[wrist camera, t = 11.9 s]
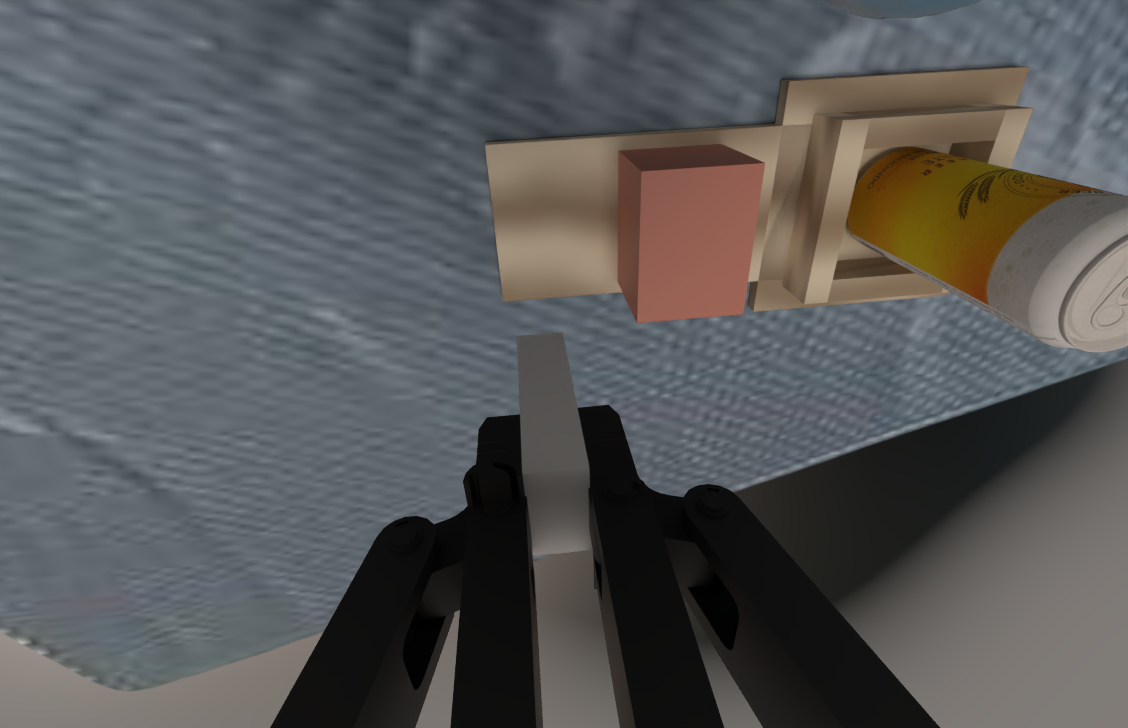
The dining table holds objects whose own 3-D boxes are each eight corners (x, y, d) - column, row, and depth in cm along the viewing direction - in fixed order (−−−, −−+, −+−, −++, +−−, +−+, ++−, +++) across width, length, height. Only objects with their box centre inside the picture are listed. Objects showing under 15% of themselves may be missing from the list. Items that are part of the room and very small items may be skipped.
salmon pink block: (618, 150, 30) (641, 171, 25) (721, 143, 30) (765, 162, 25) (617, 281, 34) (637, 323, 29) (707, 274, 34) (743, 314, 29)
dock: (480, 98, 29) (476, 104, 25) (1015, 66, 30) (1079, 68, 27) (506, 325, 36) (506, 354, 32) (937, 289, 38) (979, 313, 34)
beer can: (956, 161, 32) (1260, 236, 19) (898, 254, 35) (1128, 373, 22) (876, 131, 30) (1146, 191, 18) (822, 231, 33) (1021, 344, 21)
